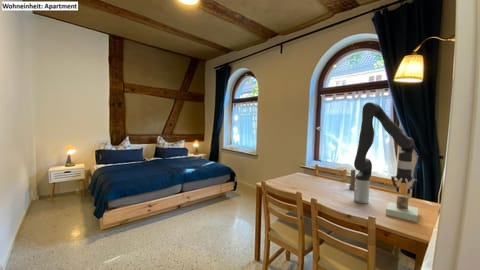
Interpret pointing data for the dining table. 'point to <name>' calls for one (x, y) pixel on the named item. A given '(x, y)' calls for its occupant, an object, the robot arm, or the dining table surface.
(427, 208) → the dining table surface
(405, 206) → the peg
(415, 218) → the socket block
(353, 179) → the wooden block
